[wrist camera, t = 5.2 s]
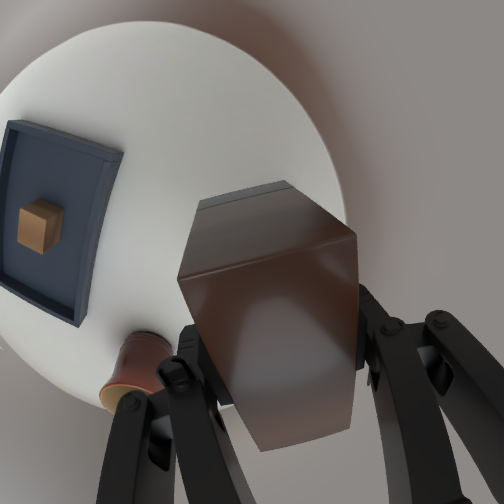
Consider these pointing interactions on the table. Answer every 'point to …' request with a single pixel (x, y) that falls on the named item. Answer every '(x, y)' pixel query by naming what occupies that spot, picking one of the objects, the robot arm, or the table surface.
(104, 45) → the table surface
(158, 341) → the mug
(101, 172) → the tray
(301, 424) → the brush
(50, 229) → the wooden cube
